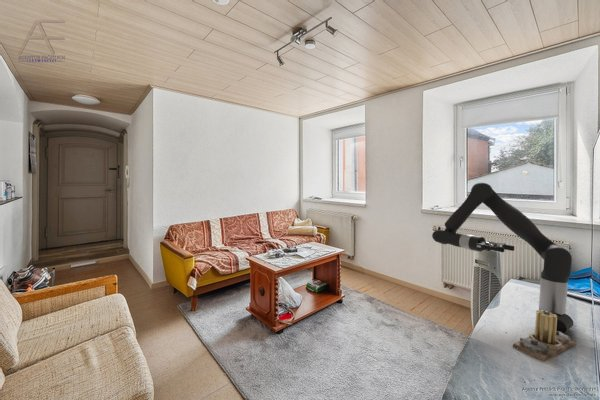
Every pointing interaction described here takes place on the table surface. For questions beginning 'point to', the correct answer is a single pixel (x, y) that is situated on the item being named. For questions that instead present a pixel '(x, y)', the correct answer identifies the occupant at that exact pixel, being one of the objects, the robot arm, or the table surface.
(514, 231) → the robot arm
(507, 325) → the table surface
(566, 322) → the end cap
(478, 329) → the table surface
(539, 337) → the pinion
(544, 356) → the gear board
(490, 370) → the table surface
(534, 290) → the table surface
